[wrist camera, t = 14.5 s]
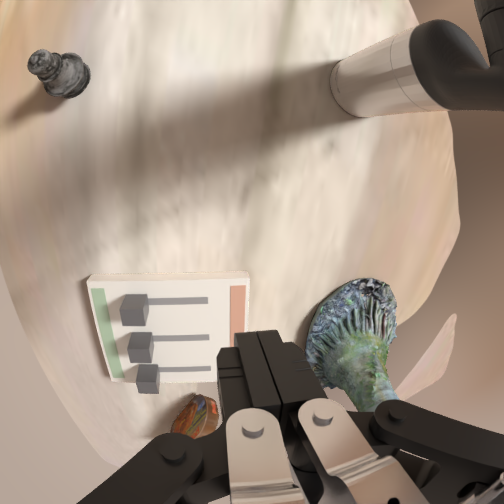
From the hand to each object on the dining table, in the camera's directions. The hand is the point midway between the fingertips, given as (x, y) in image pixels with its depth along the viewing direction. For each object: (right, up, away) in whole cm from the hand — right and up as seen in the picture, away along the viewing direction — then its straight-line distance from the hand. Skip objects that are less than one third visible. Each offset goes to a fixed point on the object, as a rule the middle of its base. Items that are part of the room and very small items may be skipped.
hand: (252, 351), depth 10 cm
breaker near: (-15, -3, +26) cm, 31 cm away
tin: (-11, -26, +38) cm, 48 cm away
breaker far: (-16, -14, +30) cm, 37 cm away
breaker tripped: (-15, -9, +28) cm, 33 cm away
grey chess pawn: (-23, +26, +18) cm, 39 cm away
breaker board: (-12, -8, +32) cm, 35 cm away
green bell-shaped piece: (+17, -11, +39) cm, 44 cm away
